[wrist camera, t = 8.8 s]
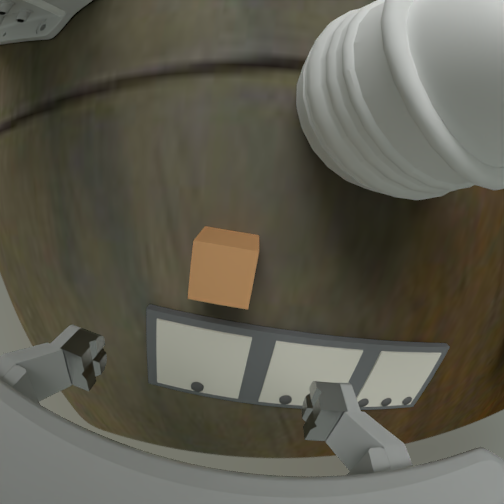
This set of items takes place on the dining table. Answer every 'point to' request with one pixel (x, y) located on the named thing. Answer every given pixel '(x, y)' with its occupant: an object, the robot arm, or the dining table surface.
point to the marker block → (223, 267)
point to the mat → (281, 362)
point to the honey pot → (409, 96)
